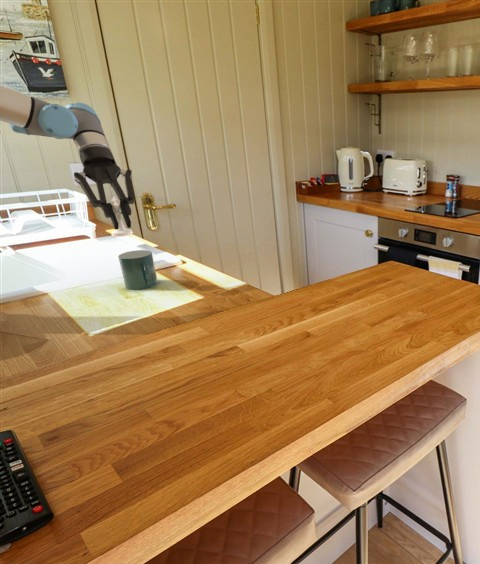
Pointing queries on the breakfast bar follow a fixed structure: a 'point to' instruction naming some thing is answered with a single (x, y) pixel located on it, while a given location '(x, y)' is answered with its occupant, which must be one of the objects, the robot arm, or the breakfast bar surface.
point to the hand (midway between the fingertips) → (123, 225)
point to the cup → (138, 269)
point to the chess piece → (119, 221)
